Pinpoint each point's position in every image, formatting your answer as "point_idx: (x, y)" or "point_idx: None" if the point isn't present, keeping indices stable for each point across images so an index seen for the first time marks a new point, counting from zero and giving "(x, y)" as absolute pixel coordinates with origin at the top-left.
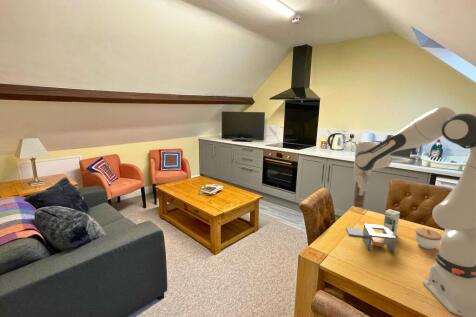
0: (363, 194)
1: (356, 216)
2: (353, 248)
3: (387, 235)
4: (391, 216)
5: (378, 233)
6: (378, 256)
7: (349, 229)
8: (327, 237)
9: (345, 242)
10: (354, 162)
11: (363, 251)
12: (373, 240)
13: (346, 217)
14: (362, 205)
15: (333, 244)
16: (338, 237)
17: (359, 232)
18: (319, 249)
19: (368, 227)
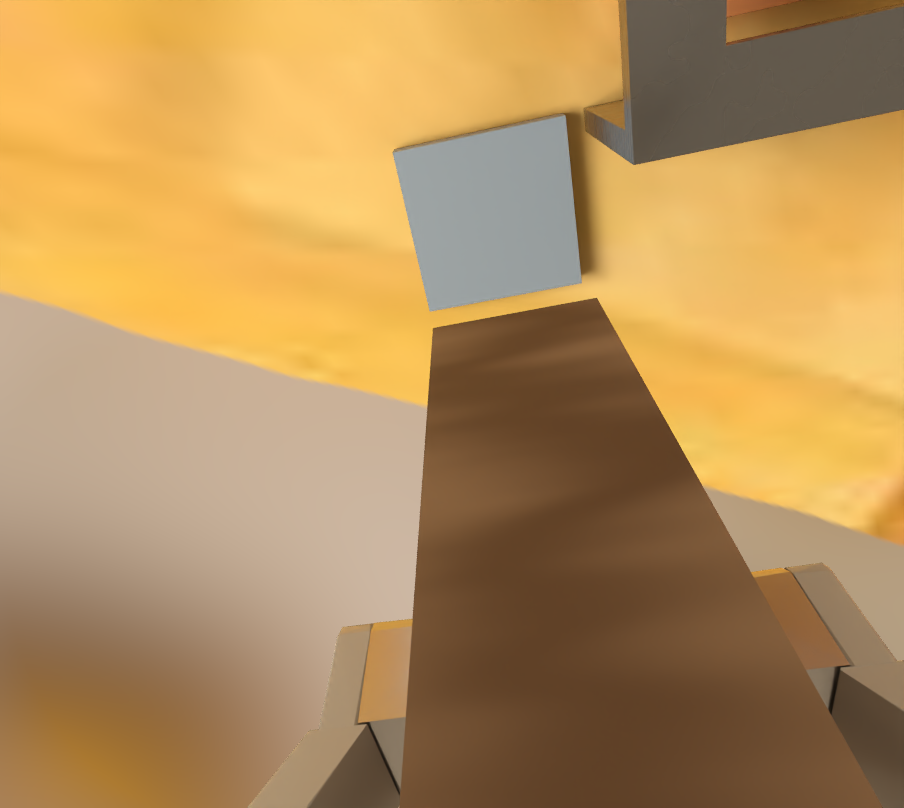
0: (718, 531)
1: (22, 199)
2: (834, 225)
3: None
4: None
5: None
6: None
7: (475, 280)
8: (680, 446)
9: (732, 301)
10: None
11: (879, 124)
12: (776, 4)
13: (142, 312)
14: (608, 322)
15: (792, 394)
16: (651, 364)
17: (501, 170)
18: (889, 479)
19: (755, 100)
